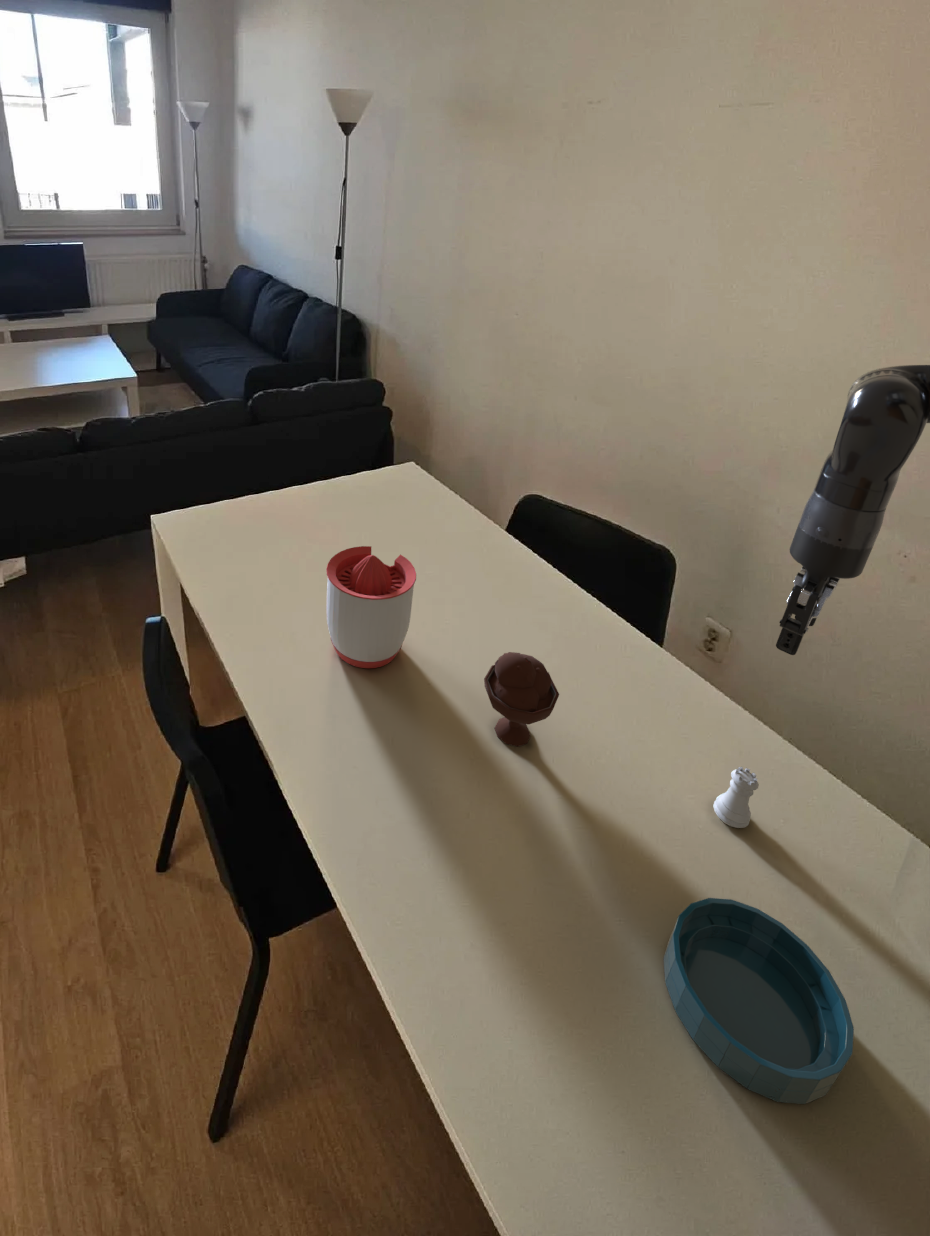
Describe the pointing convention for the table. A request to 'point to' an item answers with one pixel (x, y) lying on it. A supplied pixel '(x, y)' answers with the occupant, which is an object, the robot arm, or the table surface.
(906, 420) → the robot arm
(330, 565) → the citrus juicer
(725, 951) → the shallow round dish
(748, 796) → the rook chess piece
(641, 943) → the table surface
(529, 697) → the ice cream bowl
